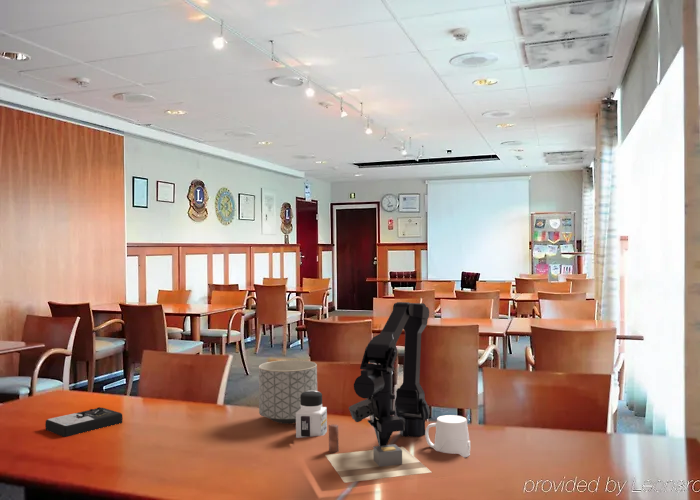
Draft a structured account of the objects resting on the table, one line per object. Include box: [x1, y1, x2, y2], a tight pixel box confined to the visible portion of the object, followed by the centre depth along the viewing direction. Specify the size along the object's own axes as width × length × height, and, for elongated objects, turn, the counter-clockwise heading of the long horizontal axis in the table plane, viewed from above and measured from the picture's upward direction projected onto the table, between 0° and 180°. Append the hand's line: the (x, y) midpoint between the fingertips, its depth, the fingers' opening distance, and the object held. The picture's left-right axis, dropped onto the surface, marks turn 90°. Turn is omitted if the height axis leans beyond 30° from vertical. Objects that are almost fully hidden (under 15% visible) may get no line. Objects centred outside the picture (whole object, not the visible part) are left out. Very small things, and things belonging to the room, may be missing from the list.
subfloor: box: [324, 446, 432, 484], centre depth 151 cm, size 22×20×1 cm
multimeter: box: [44, 407, 123, 438], centre depth 192 cm, size 13×19×5 cm
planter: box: [258, 359, 318, 425], centre depth 196 cm, size 19×19×18 cm
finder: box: [372, 443, 402, 467], centre depth 152 cm, size 6×5×4 cm
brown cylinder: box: [328, 423, 340, 454], centre depth 161 cm, size 3×3×8 cm
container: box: [295, 390, 328, 439], centre depth 180 cm, size 8×8×13 cm
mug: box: [424, 414, 471, 458], centre depth 162 cm, size 12×9×8 cm
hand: (382, 449), depth 156 cm, fingers closed
